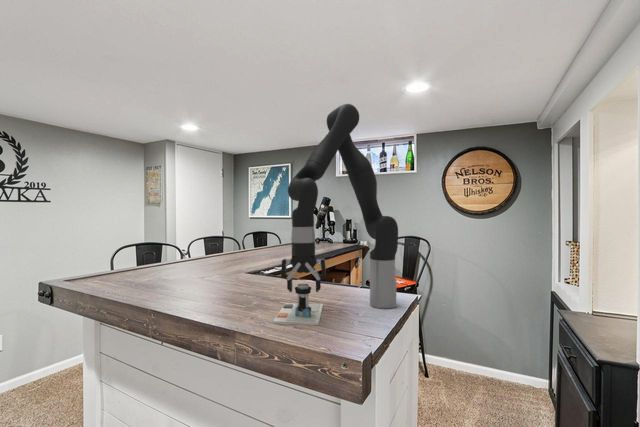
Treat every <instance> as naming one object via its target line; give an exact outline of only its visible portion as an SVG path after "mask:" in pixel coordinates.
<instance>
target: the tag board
mask: <svg viewBox="0 0 640 427" xmlns="http://www.w3.org/2000/svg"><path fill="white" fill-rule="evenodd" d="M297 305H298V302H296V303H293V302H291V303H290V302H285V303H284V304H283V306H282V308H281V309H280V311H279V312H278V313H277V315H276V317H275V318H274V319H273V321H272V324H273V325H295V326H296V325H300V326H301V325H304V326H320V320H321V316H322V313H323V307H324V304H323V303H309V304H308V306H309V307H311V312H315V313H311V314H312V315H315V316H309V317H300V316H296V315H295V308H296V307H298V306H297Z"/></svg>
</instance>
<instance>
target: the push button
mask: <svg viewBox="0 0 640 427" xmlns="http://www.w3.org/2000/svg"><path fill="white" fill-rule="evenodd" d="M294 290H295V294H297V303H298V305H297V306H298V307H296V308H295V315H296V316H300V317H309V316H315V315H312V314H311V313H315V312H311V307H309V306H308V304H310V303H309V301H310V300H309V299H310V298H309V296H310V295H309V294H311V291H312V286H310V285H309V283H298V284H297V286H295V287H294Z"/></svg>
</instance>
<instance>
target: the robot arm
mask: <svg viewBox="0 0 640 427" xmlns="http://www.w3.org/2000/svg"><path fill="white" fill-rule="evenodd" d="M359 122H360V113H359V111H358V109H357V107H356V106H355V105H353V104H352V103H344V104H342V105H339V106H338V107H336V108H335V109H333V110H332V111H331V112H329V113H328V115H327V117H326V125H327V130H328V133H327V134H326V135H325V137H324V138H323V139H322V140H321V141H320V142H319V143H318V144H317V146H315V147H314V150H313V151H312V152H311V154H310V155H309V157H308V159H307V160H306V162H305V164H304V166H303V167H302V168H301V169H300V170H299V171H298V172H297V173H296V174H295V176H294V177H292V179H291V180H290V183H289V185H288V187H287V194H288V197H289V198H290V200H292V201H295V202H298V203H297V206H296V208H295V209H293V210H292V213H291V227H292V228H291V238H290V240H291V259H286V258H283V259H282V260H281V269H280V270H281V272H280V277H281V279H284V280H286V288H287V291H288V292H289V293H292V292H293V276H294V275H295V274H296V273H298V274H303V273H305V274H309V273H311V274H312V275H313V277H314V278H315V292H316V293H318V292H319V291H320V290H321V287H322V285H321V284H322V282H321V280H322V279H326V278H327V269H326V268H327V267H326V259H325V258H320V259H319V258H318V259H317V258H316V234H315V231H316V230H315V215H314V214H315V210H316V206H317V202H318V195H319V189H318V185H317V183H316V181H318V180H320V179H321V178H323V176H324V174H325V172H326V171H327V170H328V168H329V166H330V164H331V162H332V161H333V158H334V157H335V156H336V154H337V153H338V152H339V154H340V155H339V156H340V157H341V161H342V162H343V164H344V167H345V170H346V173H347V176H348V179H349V182H350V184H351V187H352V189H353V192H354V195H355V198H356V200H357V202H358V205H359V208H360V210H361V214H362V218H363V222H364V225H365V230H366V233H367V234H368V235H369V237H370V238H371V239H373V240H375V241H374V242H375V244H374V248H373V249H371V251H370V252H369V305H370V306H371V307H373V308H376V309H393V308H394V309H395V308H397V281H396V256H397V255H396V254H397V251H398V247H399V246H398V245H399V244H398V243H399V226H398V223H397V220H396V219H395V218H394V217H392V216H389V215H383V214H382V212H381V209H380V207H379V203H378V199H377V198H378V197H377V194H378V193H377V192H378V185H377V184H378V183H377V181H378V180H377V177H376V175H375V172H374V168H373V166H372V164H371V162H370V160H368V158H367V156H365V154H363V153H362V152H361V151H360V150H359V149H358V148H357V147H356V145H355V143H354V141H353V138H352V136H351V133H352V132H353V131H354V129H355V128H356V127H357V126H358V124H359ZM317 264H318V266H320V270H321V274H320V273H319V272H318V271H317V269H316V268H315V266H316V265H317ZM289 265H291V266H292V267H293V268H292V270H291V271H290V272H289V274H287V267H288V266H289Z"/></svg>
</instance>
